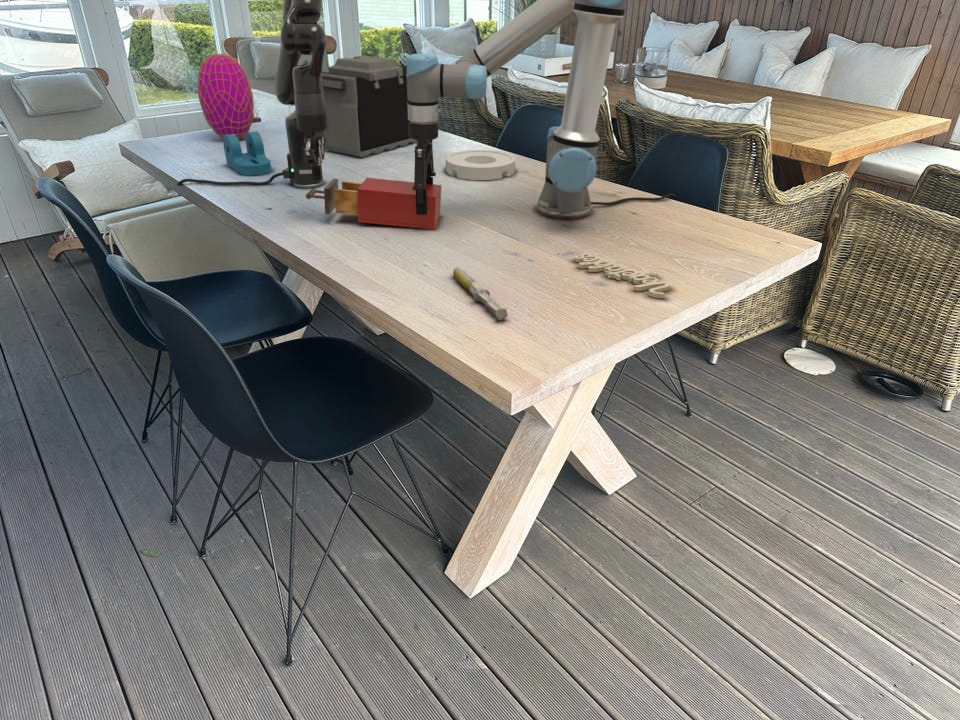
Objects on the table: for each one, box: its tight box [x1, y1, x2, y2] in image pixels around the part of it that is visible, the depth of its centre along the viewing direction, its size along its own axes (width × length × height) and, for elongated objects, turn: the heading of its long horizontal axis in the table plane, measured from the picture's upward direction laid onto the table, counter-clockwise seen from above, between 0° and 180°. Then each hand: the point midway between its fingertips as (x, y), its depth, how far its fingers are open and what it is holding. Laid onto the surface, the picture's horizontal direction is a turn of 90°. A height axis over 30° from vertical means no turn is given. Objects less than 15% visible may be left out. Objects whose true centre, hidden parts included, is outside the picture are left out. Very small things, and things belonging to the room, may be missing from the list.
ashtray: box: [445, 149, 516, 181], centre depth 229 cm, size 23×23×4 cm
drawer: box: [305, 178, 363, 216], centre depth 183 cm, size 25×9×7 cm, turn 85°
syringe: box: [452, 266, 509, 321], centre depth 145 cm, size 25×4×3 cm, turn 21°
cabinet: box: [357, 177, 442, 231], centre depth 183 cm, size 20×11×9 cm, turn 85°
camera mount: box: [222, 131, 272, 176], centre depth 226 cm, size 18×10×10 cm, turn 35°
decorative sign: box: [574, 252, 671, 299], centre depth 155 cm, size 26×1×10 cm
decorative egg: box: [197, 53, 255, 140], centre depth 258 cm, size 19×19×30 cm
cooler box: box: [322, 55, 417, 159], centre depth 250 cm, size 37×22×30 cm, turn 144°
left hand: (317, 178), depth 181 cm, fingers closed
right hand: (425, 207), depth 183 cm, fingers closed on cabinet, 11 cm apart
